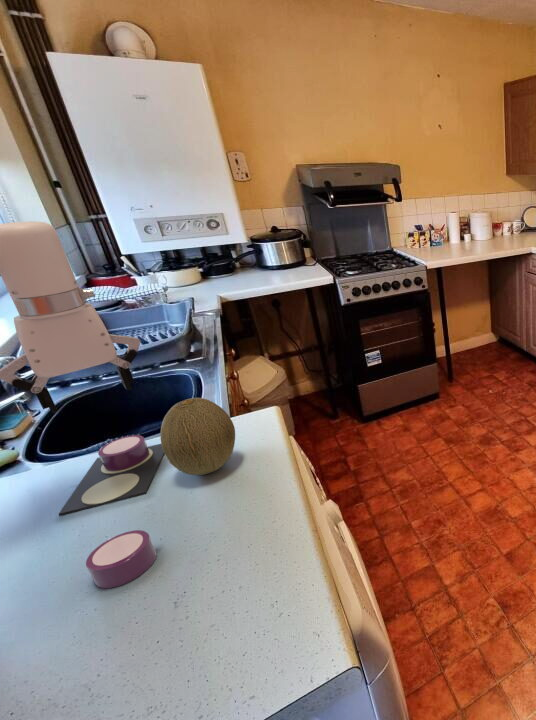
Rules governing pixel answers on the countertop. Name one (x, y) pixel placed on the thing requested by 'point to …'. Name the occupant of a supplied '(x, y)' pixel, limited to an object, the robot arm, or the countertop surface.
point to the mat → (113, 483)
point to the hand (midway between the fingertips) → (92, 398)
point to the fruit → (197, 436)
